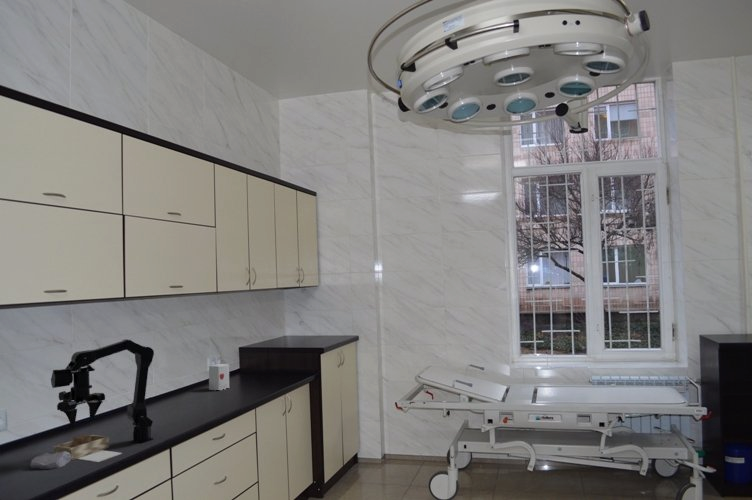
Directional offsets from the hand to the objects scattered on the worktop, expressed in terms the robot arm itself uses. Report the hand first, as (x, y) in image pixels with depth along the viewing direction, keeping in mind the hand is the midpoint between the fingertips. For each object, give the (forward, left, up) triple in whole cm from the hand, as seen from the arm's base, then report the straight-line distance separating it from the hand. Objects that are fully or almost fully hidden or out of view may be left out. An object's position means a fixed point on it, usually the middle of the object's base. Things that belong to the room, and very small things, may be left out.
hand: (82, 423), depth 227 cm
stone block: (+14, 0, -13) cm, 19 cm away
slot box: (-1, -1, -12) cm, 12 cm away
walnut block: (-1, -1, -10) cm, 10 cm away
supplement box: (-124, -37, -12) cm, 130 cm away
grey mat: (0, +10, -12) cm, 16 cm away
